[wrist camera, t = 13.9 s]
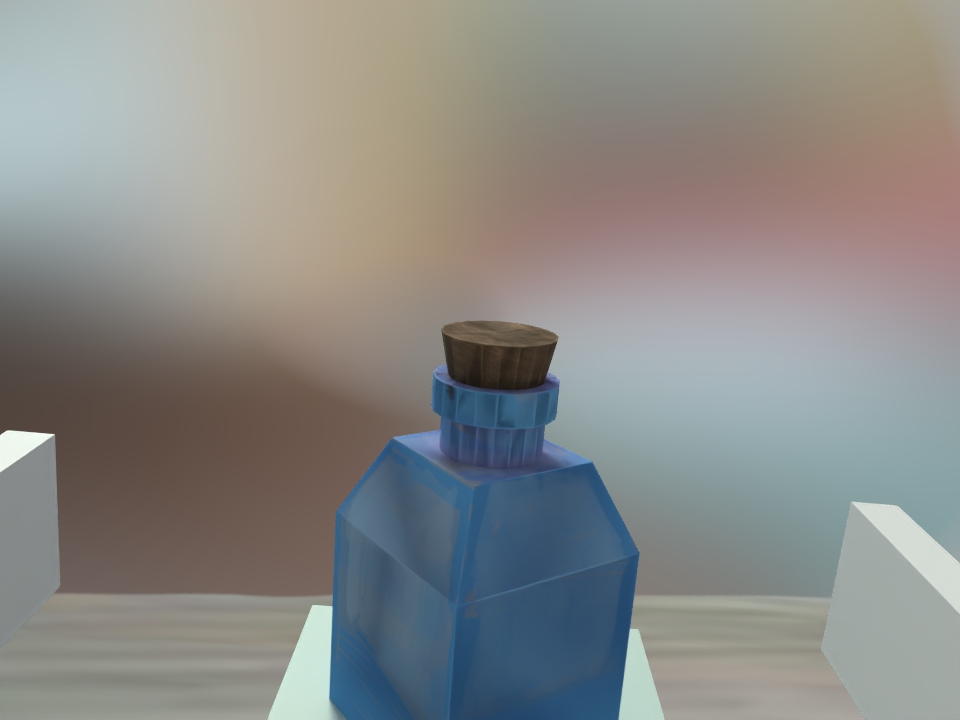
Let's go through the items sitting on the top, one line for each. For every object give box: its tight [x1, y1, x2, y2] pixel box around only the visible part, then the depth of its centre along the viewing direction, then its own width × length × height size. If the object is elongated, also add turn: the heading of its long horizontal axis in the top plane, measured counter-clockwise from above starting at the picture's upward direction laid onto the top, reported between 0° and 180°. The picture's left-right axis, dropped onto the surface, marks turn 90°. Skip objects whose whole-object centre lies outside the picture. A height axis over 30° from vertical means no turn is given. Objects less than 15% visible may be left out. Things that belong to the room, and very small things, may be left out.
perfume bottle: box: [329, 321, 639, 720], centre depth 25 cm, size 6×6×12 cm
